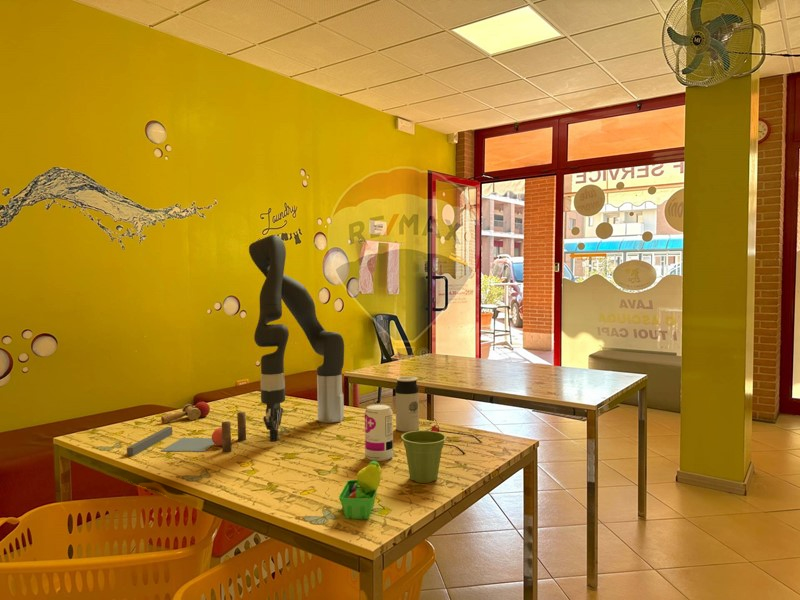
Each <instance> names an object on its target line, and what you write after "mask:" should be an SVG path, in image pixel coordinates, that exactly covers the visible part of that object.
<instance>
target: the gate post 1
mask: <svg viewBox="0 0 800 600" xmlns="http://www.w3.org/2000/svg"><path fill="white" fill-rule="evenodd" d="M221 428H222V448H221V450H222V453H223V452H228V453H231V452H232V432H231V431H232V430H231V429H232V428H231V421H222V422H221ZM230 451H231V452H230Z"/></svg>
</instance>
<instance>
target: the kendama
mask: <svg viewBox="0 0 800 600" xmlns="http://www.w3.org/2000/svg"><path fill="white" fill-rule="evenodd" d="M210 407H211V406H210V405H209V403H207V402H205V401H199V402H197V403H196V404H194V405H192V404H191V403H188V404H185V405H184V406H183V408H182V409H181V412H179V411H178V412H175V413H171V414H167V415H163V416H161V419H160V421H161V423H162V424H163V425H165V424H168V423H170V422H173V421H175V420H179V419H181V418H183V417H187V418H188V420H190V421H195V420H194V419H197V420H198V419H199V418H204V416H205V417H207V416H208V415H209V414H210V411H211V408H210Z"/></svg>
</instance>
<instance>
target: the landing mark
mask: <svg viewBox="0 0 800 600" xmlns="http://www.w3.org/2000/svg"><path fill="white" fill-rule="evenodd" d="M214 445H215V444H214V443H213V441H212V437H181V438H179V439H178V440H176V441H174V442H173V443H171V444H169V445H168V446H166V447H164V448H163V449H161V450H160V452H180V451H192V452H191V453H194V451H195V453H205V452H206V451H208V450H209V449H210V448H212V447H214ZM211 446H212V447H211ZM204 451H205V452H204Z"/></svg>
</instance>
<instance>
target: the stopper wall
mask: <svg viewBox="0 0 800 600" xmlns="http://www.w3.org/2000/svg"><path fill="white" fill-rule="evenodd" d="M171 435H173V426H166V427H164V428H162V429H160V430H158V431H156V432H154V433H153V434H151V435H149V436H147V437H145V438H143V439H141V440H139V441H137V442H135V443H133V444H131V445H130V446H128V447H126V456H127V457H134V456H135V455H138V454H140V453H141V452H143V451H145V450H147V449H148V447H149V448H150V447H152V446H154V445H156V444H158V443H159V442H161V441H163V440H165V439H166V437H167V438H168V437H170V436H171ZM157 442H158V443H157ZM139 452H140V453H139Z"/></svg>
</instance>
